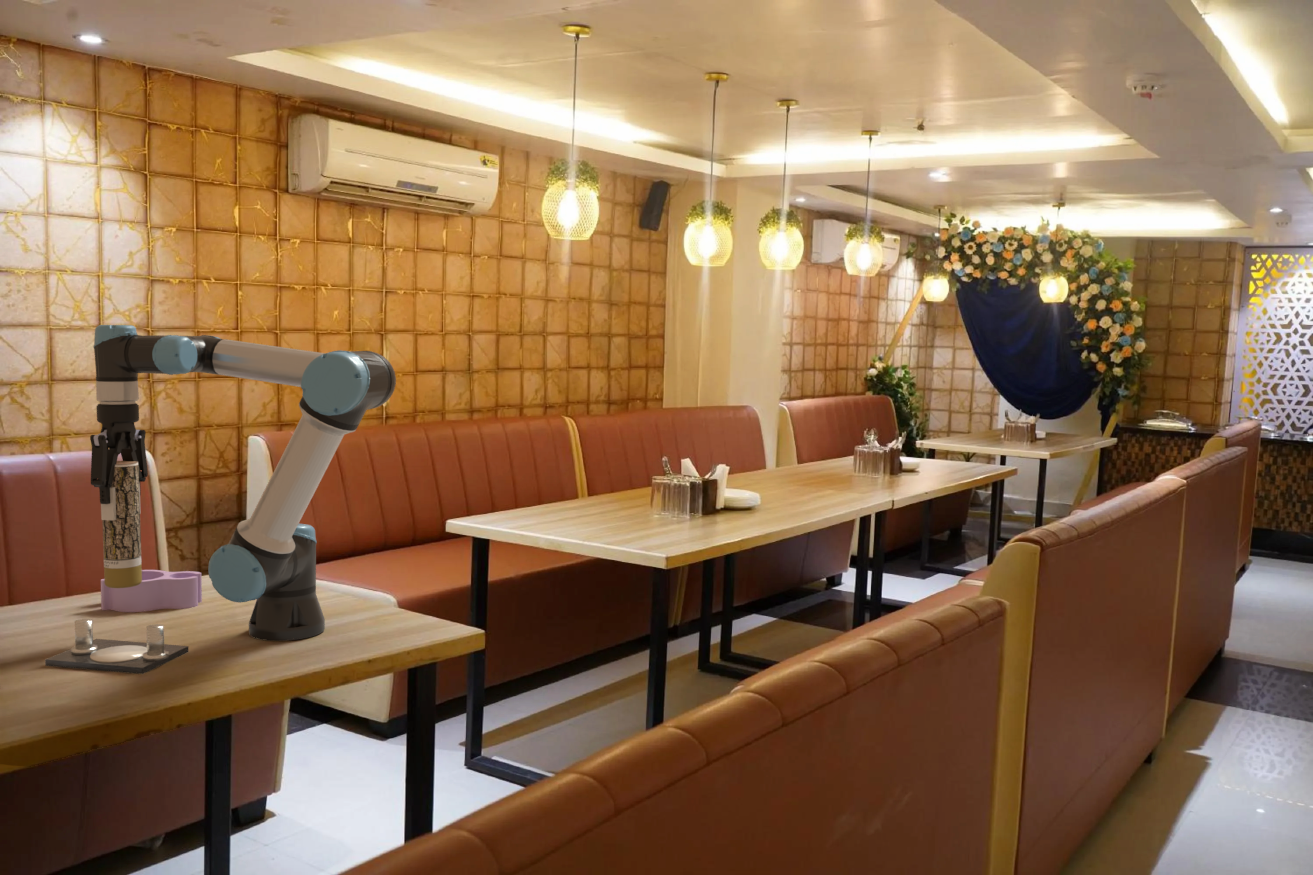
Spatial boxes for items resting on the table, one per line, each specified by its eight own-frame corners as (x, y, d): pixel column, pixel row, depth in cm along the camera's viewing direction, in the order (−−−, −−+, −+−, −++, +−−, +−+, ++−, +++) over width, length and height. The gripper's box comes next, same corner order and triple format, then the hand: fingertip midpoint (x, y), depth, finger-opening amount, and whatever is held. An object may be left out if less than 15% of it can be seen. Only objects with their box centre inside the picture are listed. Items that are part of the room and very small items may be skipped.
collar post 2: (173, 654, 202) (172, 624, 202) (159, 661, 198) (158, 630, 197) (152, 653, 203) (151, 622, 202) (137, 659, 199) (137, 628, 198)
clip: (206, 597, 251) (205, 568, 250) (193, 611, 238) (192, 581, 238) (114, 599, 247) (114, 570, 246) (97, 613, 235) (96, 582, 234)
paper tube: (126, 590, 211) (122, 465, 208) (96, 588, 212) (92, 463, 210) (149, 582, 217) (145, 461, 215) (120, 580, 219) (116, 460, 216)
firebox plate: (188, 652, 208) (188, 646, 208) (142, 674, 194) (142, 667, 194) (96, 644, 211) (96, 638, 211) (45, 665, 198) (45, 659, 198)
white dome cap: (160, 648, 206) (160, 647, 206) (126, 664, 196) (126, 662, 196) (113, 645, 207) (113, 643, 207) (77, 660, 198) (77, 658, 198)
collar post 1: (102, 649, 205) (101, 618, 204) (86, 655, 200) (85, 624, 200) (82, 647, 205) (81, 617, 205) (65, 653, 201) (65, 622, 200)
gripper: (132, 399, 222) (136, 508, 224) (65, 405, 202) (69, 524, 204) (165, 400, 220) (168, 509, 223) (101, 406, 201) (105, 525, 203)
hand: (121, 516), depth 214 cm, fingers closed on paper tube, 7 cm apart
